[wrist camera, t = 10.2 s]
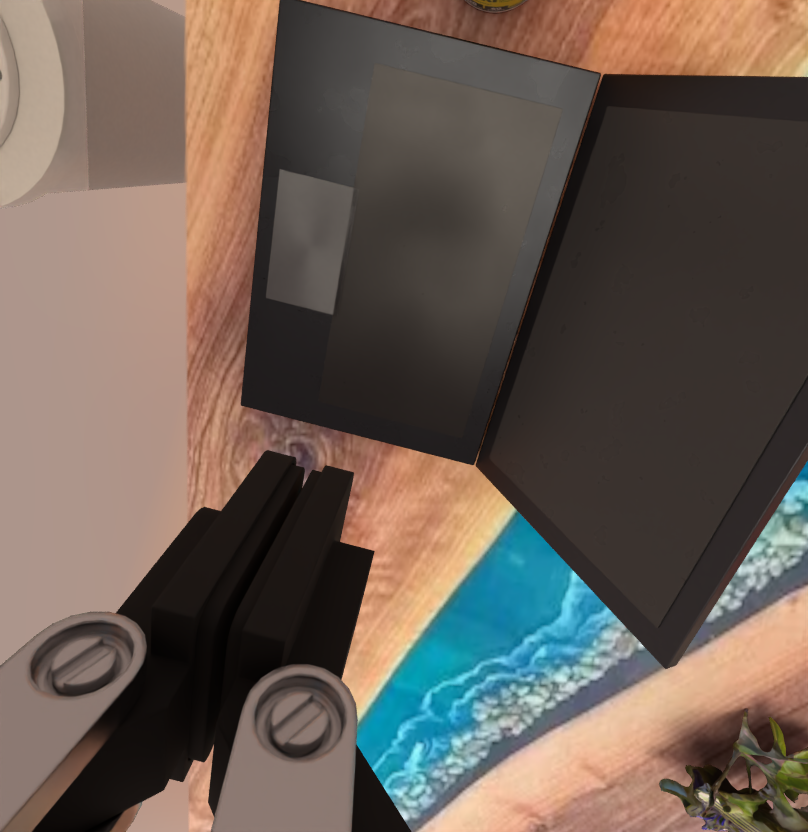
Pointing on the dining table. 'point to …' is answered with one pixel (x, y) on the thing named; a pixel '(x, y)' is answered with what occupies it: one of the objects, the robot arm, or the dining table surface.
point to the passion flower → (748, 789)
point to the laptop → (401, 224)
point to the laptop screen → (665, 347)
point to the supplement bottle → (495, 5)
